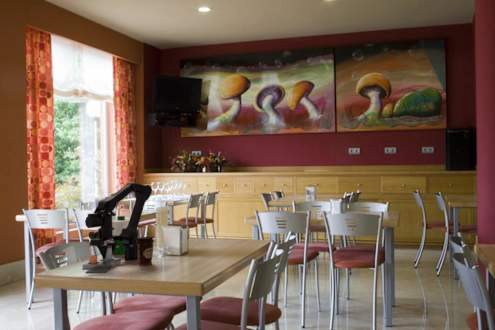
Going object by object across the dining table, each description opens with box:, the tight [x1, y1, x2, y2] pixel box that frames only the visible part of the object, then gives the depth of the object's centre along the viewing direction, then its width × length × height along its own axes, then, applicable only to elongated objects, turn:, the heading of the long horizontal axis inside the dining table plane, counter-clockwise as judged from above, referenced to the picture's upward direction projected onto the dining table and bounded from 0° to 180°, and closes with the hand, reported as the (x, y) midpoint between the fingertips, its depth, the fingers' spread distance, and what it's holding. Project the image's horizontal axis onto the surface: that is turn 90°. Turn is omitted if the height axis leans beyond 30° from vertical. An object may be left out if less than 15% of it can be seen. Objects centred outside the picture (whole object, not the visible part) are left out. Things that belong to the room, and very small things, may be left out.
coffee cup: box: [136, 236, 155, 266], centre depth 262 cm, size 9×8×13 cm
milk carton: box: [112, 215, 130, 256], centre depth 296 cm, size 9×9×20 cm
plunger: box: [88, 254, 98, 264], centre depth 258 cm, size 4×4×4 cm
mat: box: [85, 268, 112, 274], centre depth 248 cm, size 9×9×1 cm
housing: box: [82, 257, 122, 270], centre depth 262 cm, size 14×16×2 cm
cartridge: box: [101, 246, 113, 261], centre depth 265 cm, size 5×5×8 cm
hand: (107, 257), depth 265 cm, fingers closed on cartridge, 5 cm apart
